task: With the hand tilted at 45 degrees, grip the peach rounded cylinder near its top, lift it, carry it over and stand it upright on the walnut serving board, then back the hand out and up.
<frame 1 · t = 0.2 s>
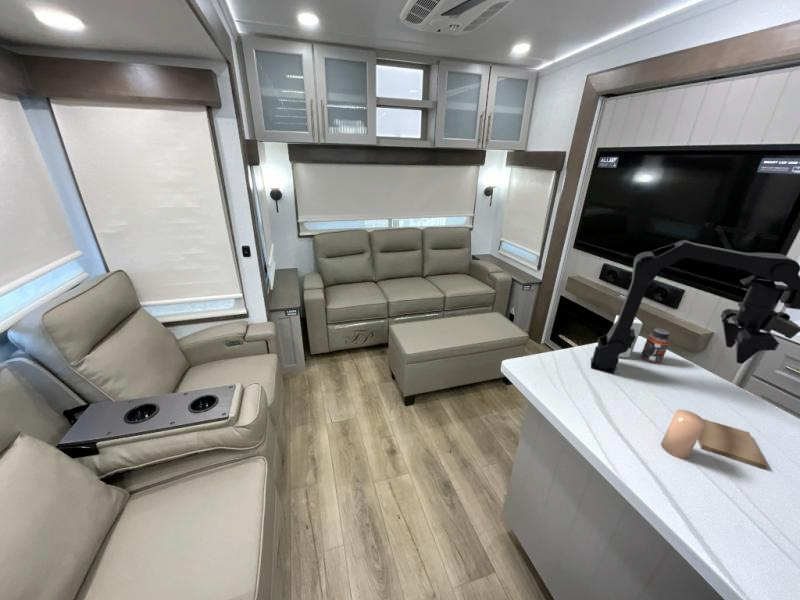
hand: (733, 354, 86), 15 cm above the table, tool pointing down, fingers open, 9 cm apart
walnut serving board: (724, 442, 76), on the table
peach rounded cylinder: (674, 449, 74), on the table
supplement bottle: (650, 359, 109), on the table
syrup box: (617, 354, 112), on the table
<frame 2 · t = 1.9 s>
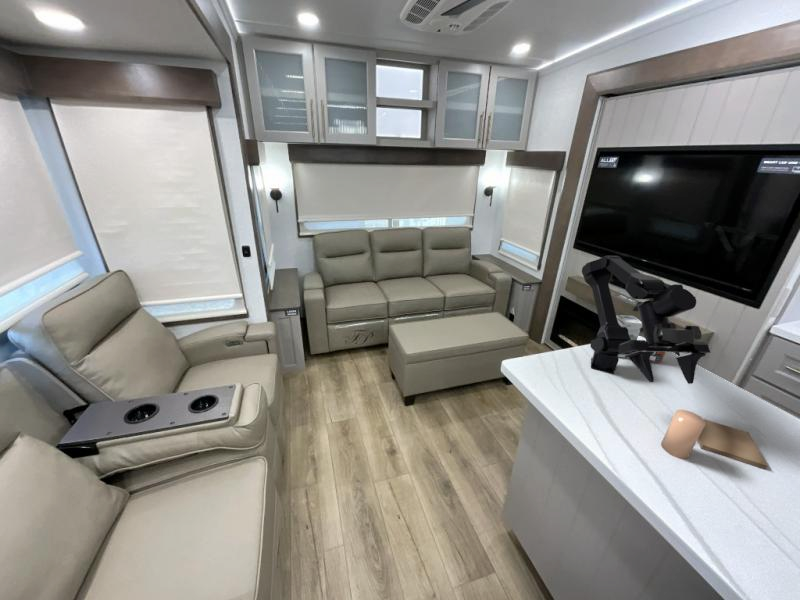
hand: (671, 382, 76), 13 cm above the table, tool tilted 45°, fingers open, 9 cm apart
nothing on the table moved.
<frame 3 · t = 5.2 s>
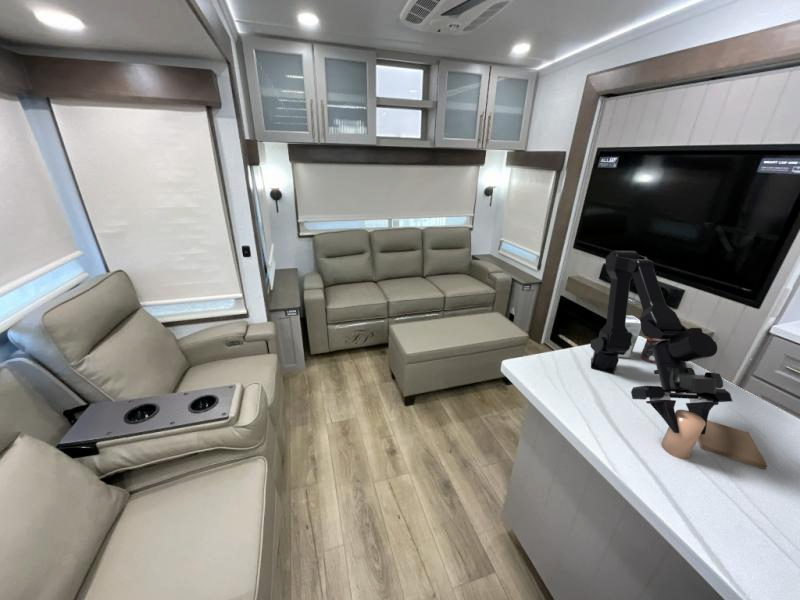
hand: (689, 433, 71), 7 cm above the table, tool tilted 45°, fingers closed on peach rounded cylinder, 5 cm apart
peach rounded cylinder: (674, 449, 74), on the table, touching gripper
everything else where it was.
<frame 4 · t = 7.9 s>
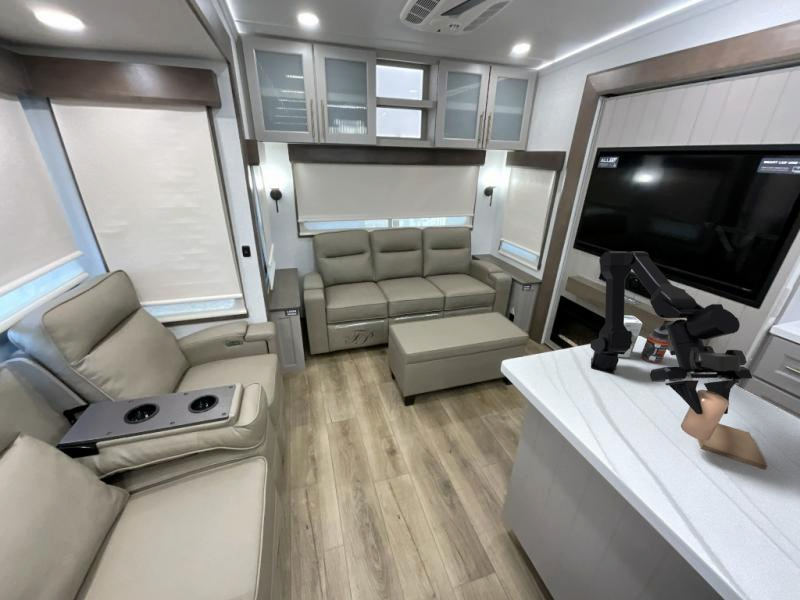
hand: (712, 414, 68), 12 cm above the table, tool tilted 45°, fingers closed on peach rounded cylinder, 5 cm apart
peach rounded cylinder: (695, 431, 72), point 6 cm above the table, touching gripper
everything else where it was.
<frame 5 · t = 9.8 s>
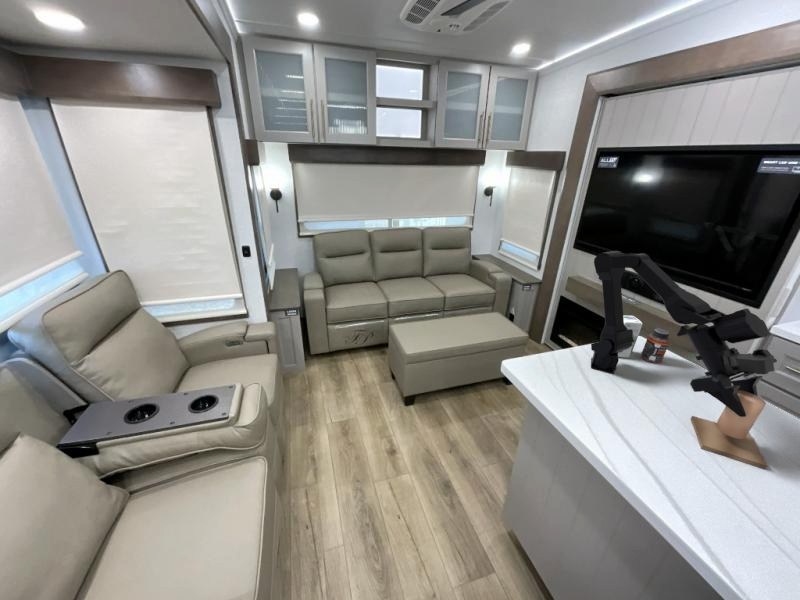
hand: (750, 413, 71), 10 cm above the table, tool tilted 45°, fingers closed on peach rounded cylinder, 5 cm apart
peach rounded cylinder: (730, 430, 75), point 4 cm above the table, touching gripper
everything else where it was.
when the fingers open (9 cm above the table, at t = 11.0 s): peach rounded cylinder drops 1 cm, resting on walnut serving board.
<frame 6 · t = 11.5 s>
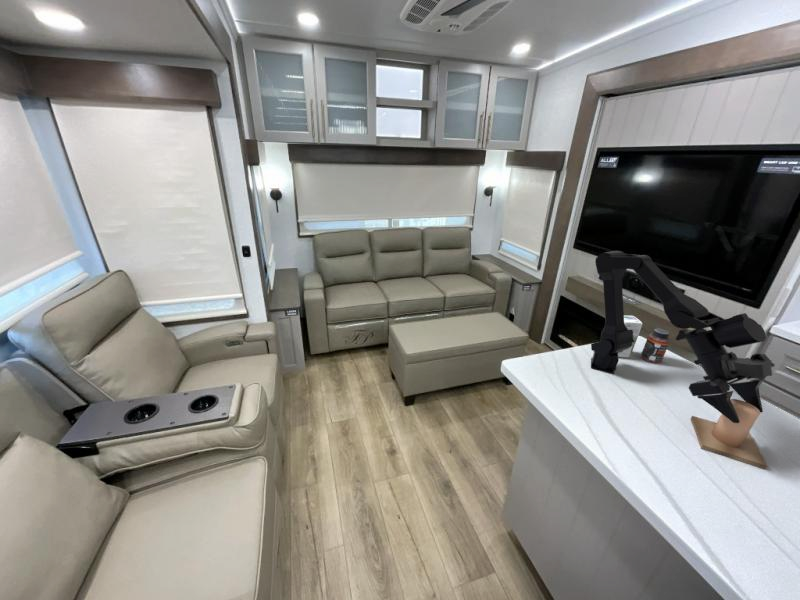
hand: (748, 417, 71), 9 cm above the table, tool tilted 45°, fingers open, 9 cm apart
peach rounded cylinder: (726, 438, 76), point 1 cm above the table, touching walnut serving board
everything else where it was.
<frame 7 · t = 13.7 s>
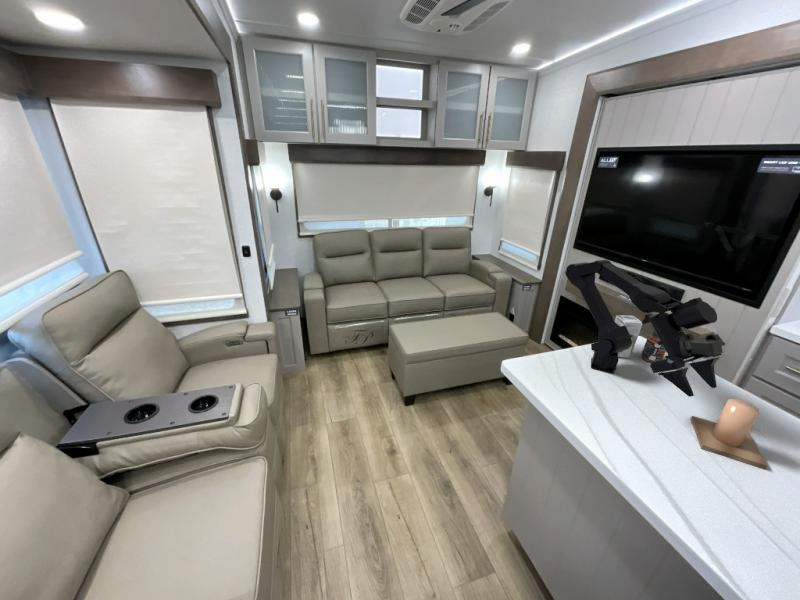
hand: (703, 391, 79), 10 cm above the table, tool tilted 45°, fingers open, 9 cm apart
nothing on the table moved.
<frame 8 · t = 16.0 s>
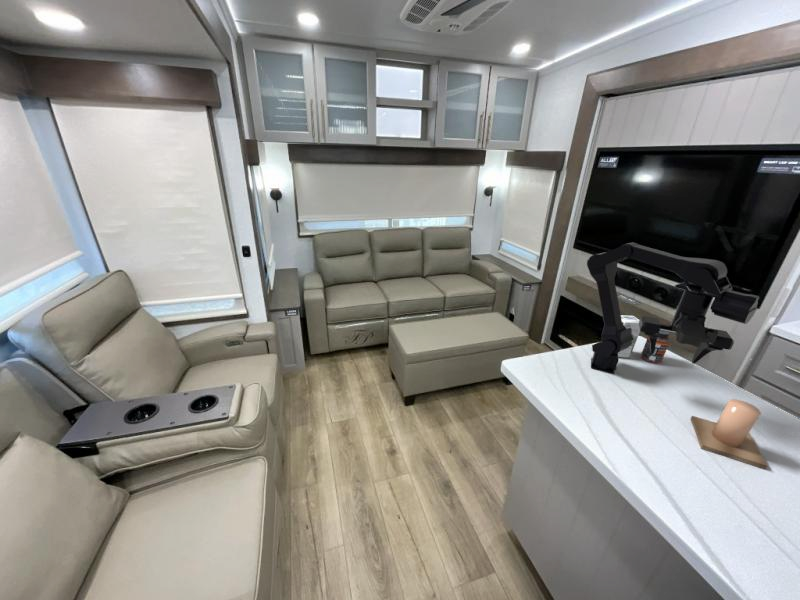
hand: (671, 358, 87), 13 cm above the table, tool pointing down, fingers open, 9 cm apart
nothing on the table moved.
at the end: peach rounded cylinder 0.1 cm off-centre on the walnut serving board, point 1.3 cm above the walnut serving board's base; peach rounded cylinder tilted 1°; the gripper is holding nothing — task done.
